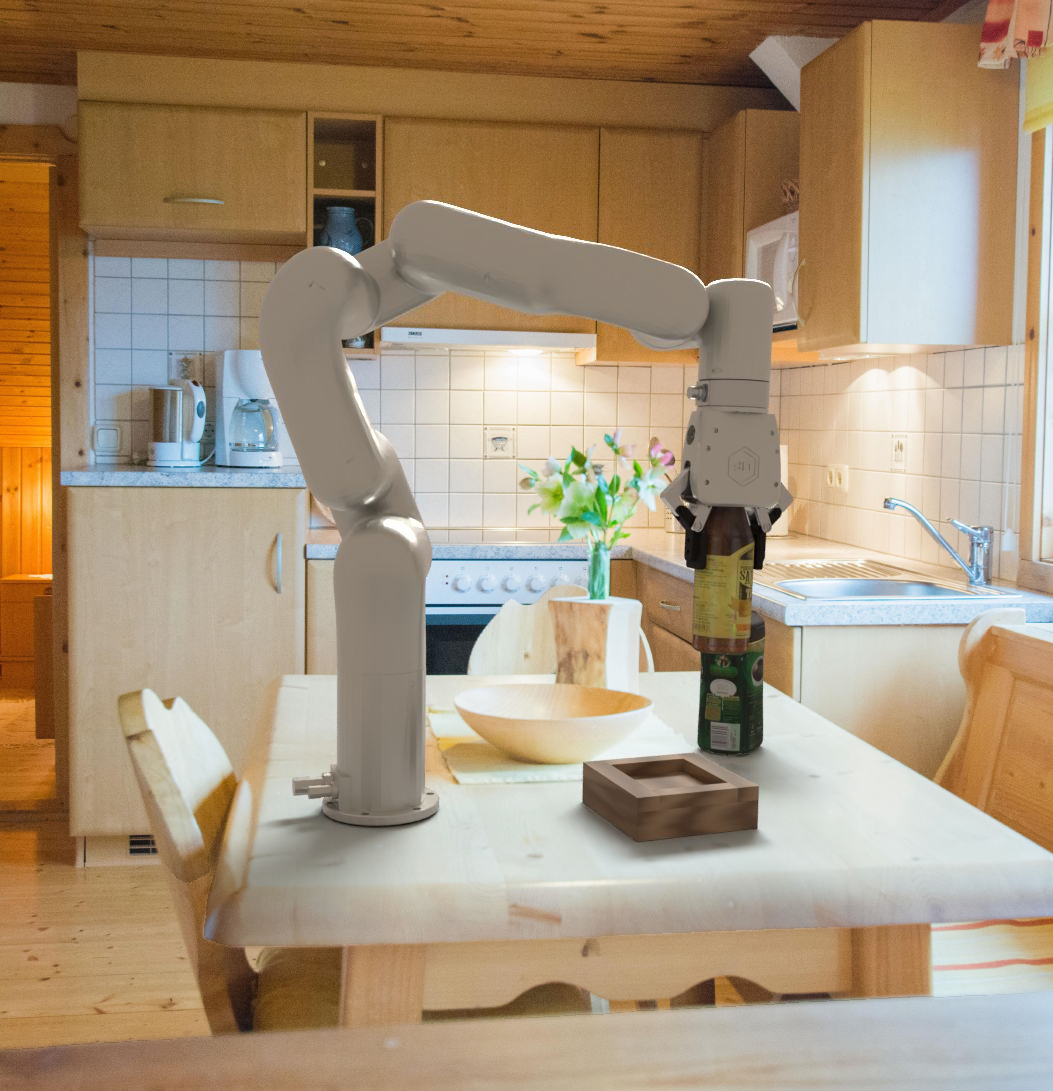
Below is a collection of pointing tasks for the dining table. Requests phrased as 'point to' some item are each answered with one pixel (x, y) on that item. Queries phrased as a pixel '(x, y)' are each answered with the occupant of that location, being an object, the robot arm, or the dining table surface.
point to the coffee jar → (733, 697)
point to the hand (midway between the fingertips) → (724, 567)
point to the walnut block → (669, 796)
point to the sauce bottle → (724, 584)
